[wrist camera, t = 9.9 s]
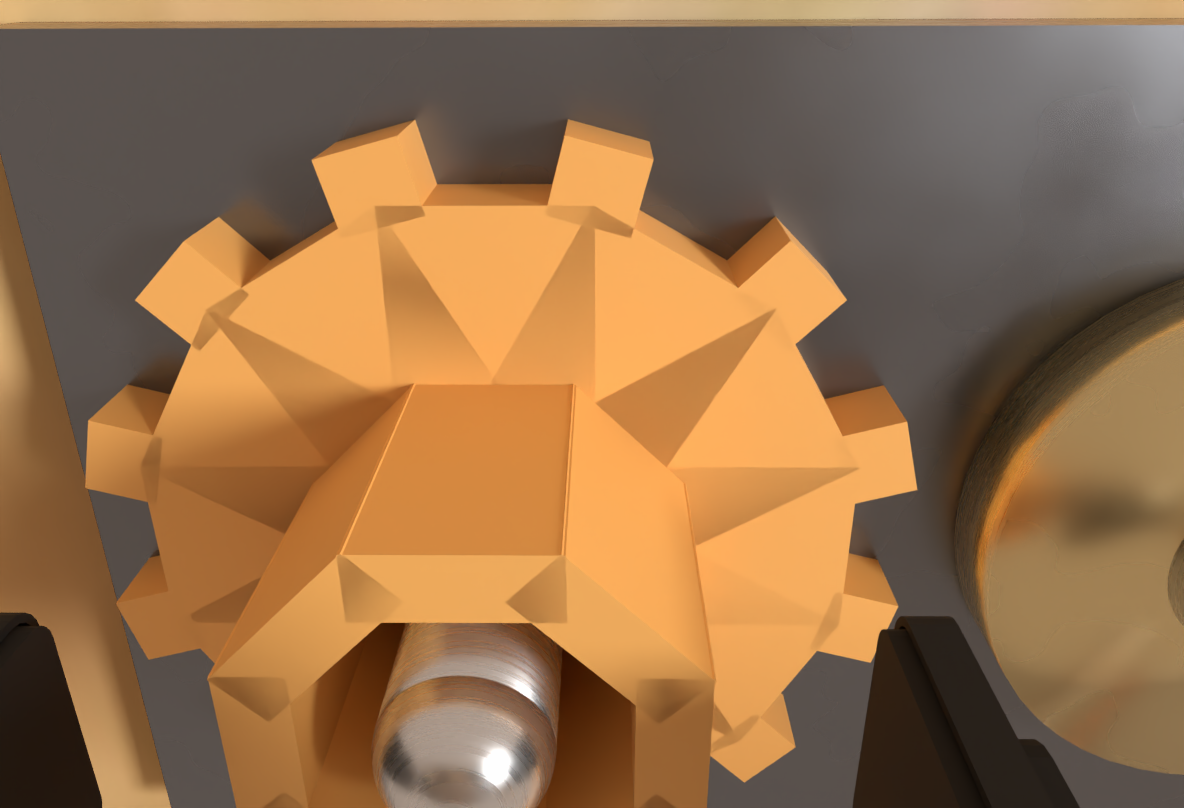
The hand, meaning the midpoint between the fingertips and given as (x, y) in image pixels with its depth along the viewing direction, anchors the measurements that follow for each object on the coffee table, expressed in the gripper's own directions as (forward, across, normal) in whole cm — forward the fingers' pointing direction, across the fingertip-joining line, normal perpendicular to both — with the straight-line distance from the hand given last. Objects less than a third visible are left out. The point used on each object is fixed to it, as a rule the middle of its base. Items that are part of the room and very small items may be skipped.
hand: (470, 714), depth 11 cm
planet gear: (+4, 0, 0) cm, 5 cm away
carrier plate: (+6, -6, 0) cm, 8 cm away
